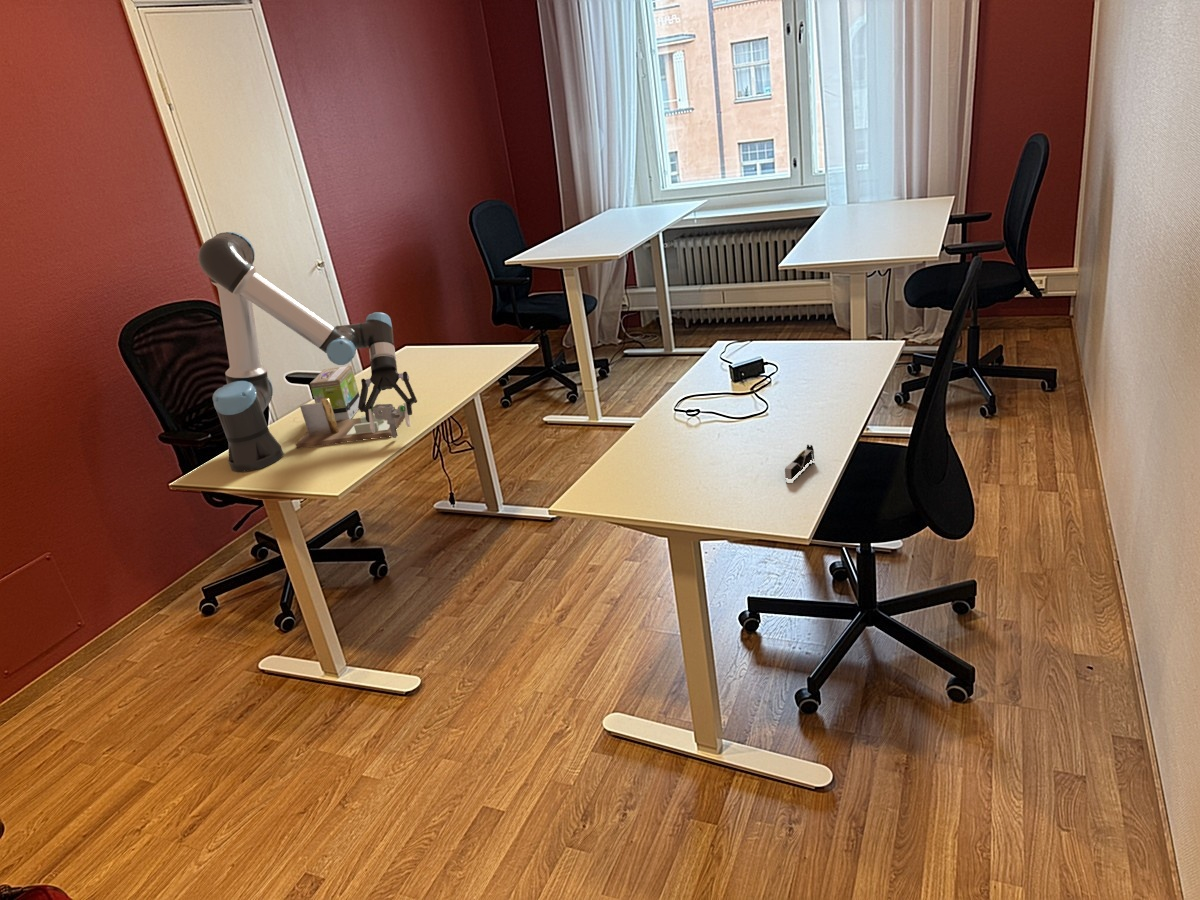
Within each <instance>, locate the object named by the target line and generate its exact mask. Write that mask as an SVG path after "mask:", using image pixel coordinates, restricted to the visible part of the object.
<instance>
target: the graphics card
mask: <svg viewBox="0 0 1200 900" xmlns="http://www.w3.org/2000/svg"><path fill="white" fill-rule="evenodd" d="M813 459H814V460H815V452H814V446H813V444H806V449H803V450H801V452H800V453H798V455H797V456H796V458H795V459H794V460H793V461H792V462H790V463H789V464H788V465H787V466H786V467H785V468H784V476H785V478H788V479H792V478H793V477H794V476H795V475H796V474H797V473H798V472H799V471H801V470H802V469H803V467H805V465H806V464H807V463H809V462H810V460H812V461H813ZM785 478H784V479H785Z"/></svg>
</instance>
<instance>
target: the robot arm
mask: <svg viewBox="0 0 1200 900" xmlns="http://www.w3.org/2000/svg"><path fill="white" fill-rule="evenodd" d="M197 255H198V264H199V266H200V268H201V270H202V271H203V273H204V274H205V275H206V276H208V278H209V279H210V283H211V284H212V285H214V286H216V288H217V291H218V298H219V305H220V311H221V317H222V322H223V330H224V337H225V344H226V349H227V350H226V351H227V357H228V363H229V367H228V369H227V370H226V371H225V373H224V374H225V380H226V384H224V385H222V386H220V387H218V388H217V389H216V390H215V391H214V393H213V394H212V402H213V406H214V409H215V410H216V413H217V416H218V418H219V422H220V424H221V426H222V429H223V432H224V434H225V437H226V439H227V440H226V441H227V442H228V465H229V466H230V469H231V470H232V471H233V472H238V473H240V472H241V473H242V472H243V473H244V472H245V473H246V472H250V471H256V470H259V469H262V468H265V467H268V466H271V465H272V464H275V463H276V462H277V461H279V460H280V459H281V458H282V457H283V455H284V450H283V447H282V446H281V444H280V443H279V442H278V440H277V439H276V438H275V437H274V436H273V434H272V433H271V431H270V429H269V427H268V424H267V421H266V418H265V414H264V412H265V410H266V408H267V407H268V405H269V404H270V402H271V401H272V398H273V393H274V388H273V384H272V382H271V380H270V379H269V377H268V370H267V368H266V367H265V366H263V365H262V364H261V358H260V356H261V355H260V351H259V350H260V349H259V344H258V336H257V329H256V322H255V315H254V308H253V306H254V305H255V306H257V307H258V308H260V309H261V310H262V311H264V312H265V313H267V314H269V315H270V316H271V317H273V318H274V319H276V321H278V322H280V323H281V324H283V325H284V326H285V327H287V328H288V329H290V330H291V331H293V332H295V333H296V334H297V335H299V336H300V337H302V338H303V339H305V340H306V341H308V342H309V343H310V344H312V345H314V346H315V347H316V348H318V349H319V350H321V351H322V352H324V353H325V354H326V356H327V358H328V359H329V361H330V362H331V363H333V364H334V365H337V366H344V365H347V364H349V363H350V362H351V361H352V360H353V359H354V358H355V355H356V353H357V350H360V349H365V348H366V349H367V348H368V350H369V351H368V353H369V361H370V370H371V371H370V373H371V375H370V377H369V378H366V379H365V378H361V380H360V383H361V390H360V393H359V396H360V399H359V405H358V408H359V410H358V411H360V412H361V413H364V414H365V415H364V416H366V420H367V422H370V430H371V431H372V433H375V424H374V413H373V412H372V410H371V408H372V407H374V406H375V403H376V401H377V398H378V397H379V394H381V391H385V390H391V389H394V390H395V391H396V393H397V394H398V396H400V398H401V399H402V400H403V401H404V402H403V406H405V411H404V413H405V418H404V421H405V425H406V427H407V428H410V427H411V422H410V421H411V420H410V416H412V415H413V407H412V405H413V404H416V403H417V402H418V399H417V397H416V395H415V392H414V389H413V388H412V386H411V383H410V376H409V374H408V372H407V371H403V372H402V373H399V372H398V368H397V367H398V365H397V360H396V359H397V358H396V349H395V341H394V332H393V331H394V329H393V324H392V320H391V319H392V318H391V316H389V315H388V314H387V313H384V312H380V311H379V312H378V311H377V312H375V311H374V312H373V313H370V314H368V315H367V316H366V317H365V322H361V323H360V322H359V323H353V324H343V325H335V326H333V325H332V324H331V323H329V322H328V321H326V319H324V318H322V317H321V316H319V315H318V314H316V312H314V311H312V310H311V309H309V308H308V307H306V306H305V305H304V304H302V303H301V302H300V301H298V300H296V299H295V298H293V297H292V296H291V295H290V294H288V293H287V292H286V291H284V290H283V289H281V288H280V287H278V286H277V285H275V284H274V283H273V282H271V281H270V280H269V279H267V278H265V276H262V275H261V274H260V273H259V272H257V271H256V266H255V265H254V262H255V257H256V256H255V249H254V246H253V244H252V243H251V241H250V240H249V239H248V238H247V237H246V236H244V235H242V234H241V233H238V232H234V231H225V232H220V233H216V235H214V236H212V237H211V238H209V239H208V240H205V242H204V243H202V244H201V246H200V248H199V250H198V254H197ZM400 379H401V381H402V382H404V385H405V387H406V389H407V391H408V394H409V395H410V396H409V397H410V398H409V397H408V396H407V395H406V393H404V391H403V390H402V389H401V387H400V386H399V385H398V381H399V380H400ZM371 384H373V387H372V390H371V392H370V395H369V397H368V393H369V387H370V386H371Z"/></svg>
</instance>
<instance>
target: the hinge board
mask: <svg viewBox="0 0 1200 900" xmlns="http://www.w3.org/2000/svg"><path fill="white" fill-rule="evenodd" d="M299 408H300V411H301V414H302V417H303V419H304V420H303V421H304V423H305V426H306V429H307V431H306V432H305V433H304V434H303V436H301V438H299V440H297V442H296V443H295V446H296V449H304V448H305V449H306V448H311V447H312V448H313V447H319V446H328V444H330V445H336V444H335V443H338V444H342V443H341V442H346V443H348V442H347V441H354V442H357V441H356V440H362V441H364V440H363V439H370V440H372V439H371V438H378V439H381V438H380V437H386V438H390V437H389V436H392V433H391V429H390V425H389V424H387V419H385V420H378V419H376V418H375V415H374V424H375V433H372V431H371V430H370V422H367V420H366V416H365V415H363V416H361V417H358V418H352V419H348V420H340V421H336V419H335V416H334V413H333V409H332V406H331V403H330V400H329V398H324V399H322V400H321V403H315V402H314V403H313V402H312V403H307V404H300V405H299ZM395 415H399V414H395ZM403 419H404V420H405V414H404V415H403V416H402V417H401V418H400V419H395V421H396V423H395V426H396V429H397V428H398V429H399V427H400V426H401V424H402V423H403V422H404V420H403ZM401 422H402V423H401ZM399 425H400V426H399ZM398 429H397V430H398Z"/></svg>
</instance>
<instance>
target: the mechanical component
mask: <svg viewBox="0 0 1200 900" xmlns="http://www.w3.org/2000/svg"><path fill="white" fill-rule="evenodd" d="M371 410H372V412H373V414H374V415H375V418H376V419H378V420H385V419H387V424H389V425H390V429H391V433H392V437H391V438H393V439H396V438H397V437H398V430H396V426H395V423H396V421H395V419H400V418H401V417H402V416H403V415H404V414H405V413H404V411H405V406H404V405H402V404H400V405H397V409H396V407H395V406H394V405H393V403H386V404H385V403H384V404H383V403H382V404H381V403H376V404H374V405H373V407H372V408H371ZM395 414H399V415H395Z"/></svg>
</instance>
